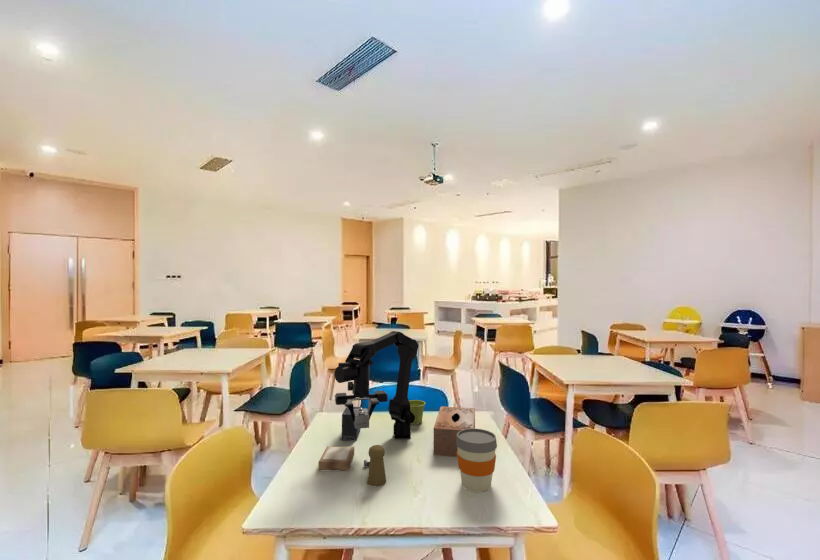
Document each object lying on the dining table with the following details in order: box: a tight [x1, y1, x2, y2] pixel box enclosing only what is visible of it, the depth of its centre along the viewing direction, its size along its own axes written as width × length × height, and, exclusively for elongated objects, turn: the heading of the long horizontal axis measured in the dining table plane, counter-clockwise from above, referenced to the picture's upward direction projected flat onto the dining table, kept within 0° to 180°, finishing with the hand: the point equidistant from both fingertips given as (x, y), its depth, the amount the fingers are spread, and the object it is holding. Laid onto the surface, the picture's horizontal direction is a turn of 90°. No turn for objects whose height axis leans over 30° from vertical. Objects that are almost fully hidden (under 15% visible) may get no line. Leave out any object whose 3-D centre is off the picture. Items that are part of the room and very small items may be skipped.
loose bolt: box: [363, 459, 370, 468], centre depth 133 cm, size 6×2×2 cm, turn 109°
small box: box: [340, 406, 362, 442], centre depth 159 cm, size 11×6×10 cm, turn 179°
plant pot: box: [409, 399, 426, 425], centre depth 175 cm, size 9×9×9 cm
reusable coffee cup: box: [456, 428, 498, 493], centre depth 121 cm, size 13×13×15 cm
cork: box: [366, 444, 387, 488], centre depth 122 cm, size 6×6×11 cm
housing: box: [354, 407, 370, 429], centre depth 142 cm, size 5×8×5 cm, turn 13°
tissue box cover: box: [433, 405, 476, 458], centre depth 153 cm, size 26×14×10 cm, turn 170°
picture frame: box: [318, 445, 355, 472], centre depth 135 cm, size 10×12×3 cm
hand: (360, 421), depth 142 cm, fingers closed on housing, 5 cm apart
